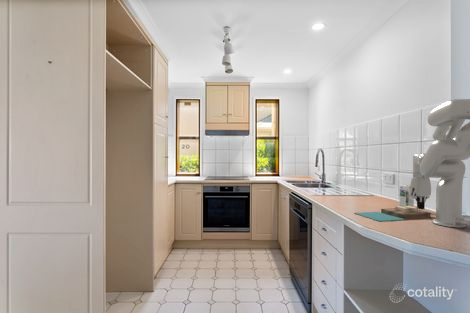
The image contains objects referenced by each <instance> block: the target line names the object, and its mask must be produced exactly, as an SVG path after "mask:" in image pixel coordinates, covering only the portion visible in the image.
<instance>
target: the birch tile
mask: <svg viewBox="0 0 470 313" xmlns="http://www.w3.org/2000/svg"><path fill="white" fill-rule="evenodd" d="M394 208H395V210H398V211H402V212H418V210H419V209H418V208H417V206H414V207H412V206H399V205H398V206H397V205H396V206H394Z"/></svg>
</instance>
